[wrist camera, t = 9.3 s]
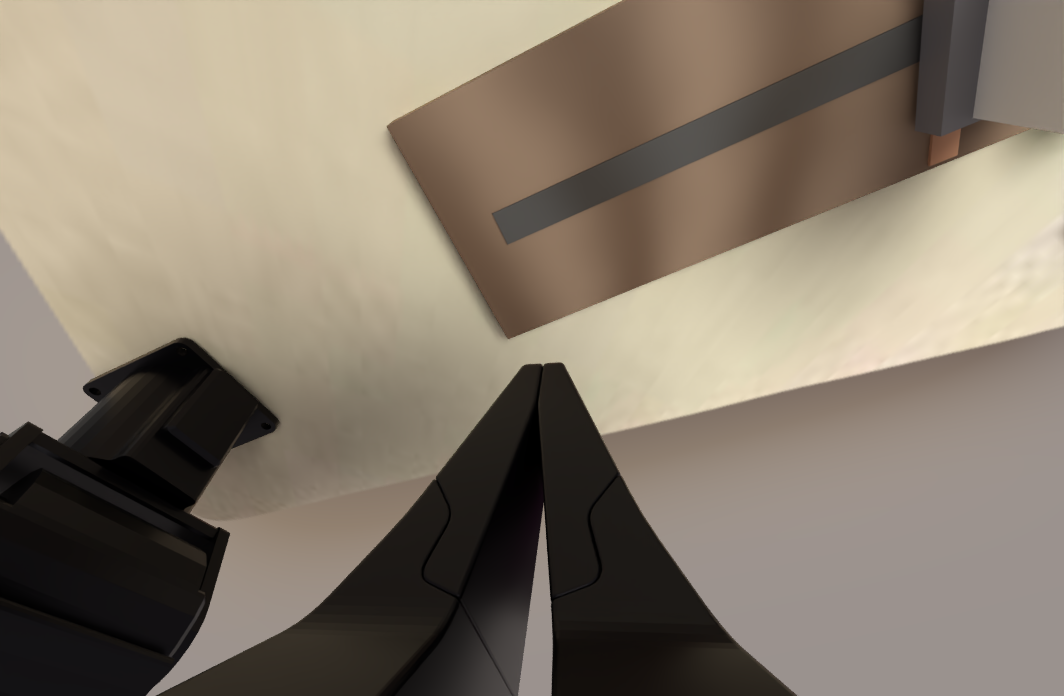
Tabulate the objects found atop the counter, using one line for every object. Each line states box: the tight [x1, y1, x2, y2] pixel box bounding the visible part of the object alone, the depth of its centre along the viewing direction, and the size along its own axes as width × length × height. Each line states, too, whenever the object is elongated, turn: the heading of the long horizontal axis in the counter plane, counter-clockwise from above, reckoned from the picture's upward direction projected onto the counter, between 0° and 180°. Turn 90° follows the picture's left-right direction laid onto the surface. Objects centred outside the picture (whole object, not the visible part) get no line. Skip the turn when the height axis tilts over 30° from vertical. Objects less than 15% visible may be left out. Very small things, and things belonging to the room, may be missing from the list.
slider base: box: [387, 0, 1031, 339], centre depth 15 cm, size 26×10×4 cm, turn 113°
